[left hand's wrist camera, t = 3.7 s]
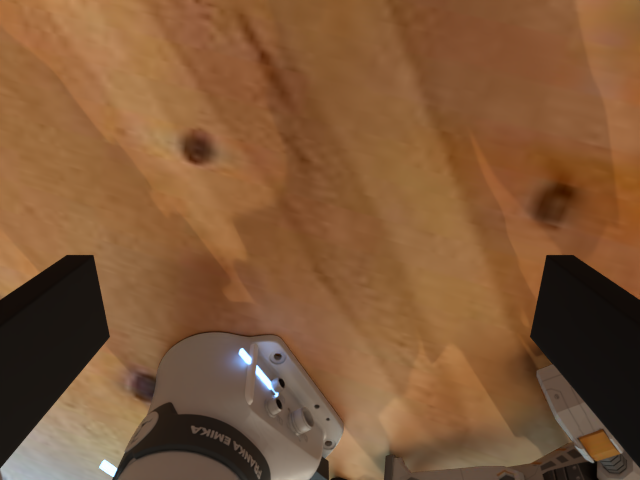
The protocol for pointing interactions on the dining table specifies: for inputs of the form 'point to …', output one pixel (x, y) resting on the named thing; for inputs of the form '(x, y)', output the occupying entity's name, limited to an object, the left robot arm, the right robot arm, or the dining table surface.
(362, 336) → the dining table surface
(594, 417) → the robot
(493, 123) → the dining table surface
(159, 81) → the dining table surface
